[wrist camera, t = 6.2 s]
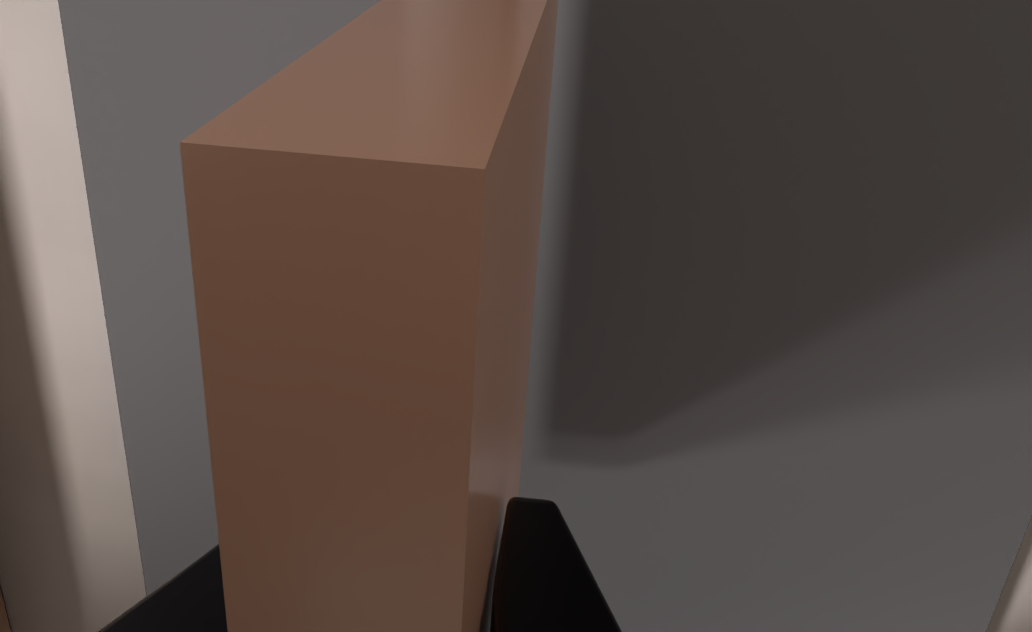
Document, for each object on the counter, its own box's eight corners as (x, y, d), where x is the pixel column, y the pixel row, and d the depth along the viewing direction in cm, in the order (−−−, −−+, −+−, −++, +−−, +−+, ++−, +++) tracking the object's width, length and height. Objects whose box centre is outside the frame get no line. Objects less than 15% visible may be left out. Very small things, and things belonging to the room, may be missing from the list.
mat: (932, 709, 17) (954, 768, 16) (167, 620, 18) (139, 670, 17) (1354, -387, 10) (1449, -414, 9) (17, -470, 10) (-51, -504, 9)
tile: (513, 559, 14) (433, 1176, 7) (429, 550, 14) (279, 1154, 7) (561, -38, 10) (484, 167, 4) (447, -48, 10) (179, 141, 4)
